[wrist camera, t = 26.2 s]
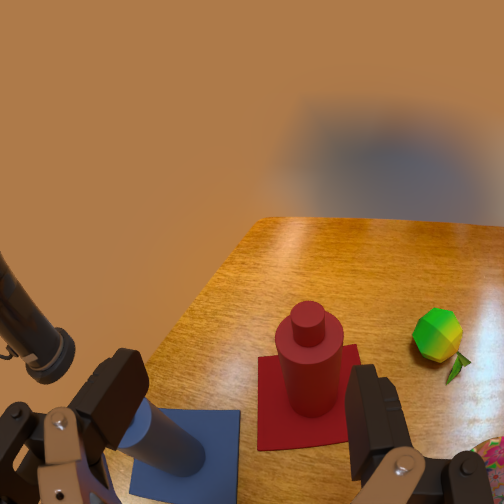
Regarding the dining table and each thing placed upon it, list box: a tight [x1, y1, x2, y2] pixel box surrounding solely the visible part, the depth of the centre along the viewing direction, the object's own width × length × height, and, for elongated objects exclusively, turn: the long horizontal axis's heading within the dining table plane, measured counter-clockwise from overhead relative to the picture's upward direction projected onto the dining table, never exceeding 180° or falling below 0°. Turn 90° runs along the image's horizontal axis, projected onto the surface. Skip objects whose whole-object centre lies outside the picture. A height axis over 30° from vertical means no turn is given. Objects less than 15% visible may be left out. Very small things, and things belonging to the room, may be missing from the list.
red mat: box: [257, 344, 361, 451], centre depth 28 cm, size 12×12×1 cm
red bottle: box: [275, 301, 344, 418], centre depth 23 cm, size 5×5×14 cm
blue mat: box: [129, 408, 240, 504], centre depth 24 cm, size 12×12×1 cm
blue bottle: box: [117, 397, 205, 477], centre depth 20 cm, size 5×5×14 cm
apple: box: [412, 308, 471, 385], centre depth 26 cm, size 7×6×9 cm
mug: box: [470, 436, 504, 504], centre depth 10 cm, size 12×9×11 cm
